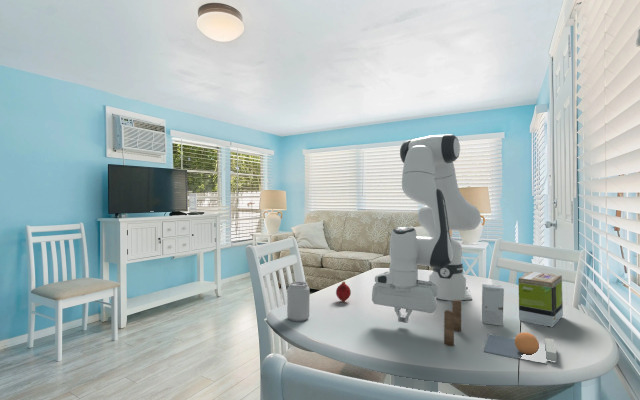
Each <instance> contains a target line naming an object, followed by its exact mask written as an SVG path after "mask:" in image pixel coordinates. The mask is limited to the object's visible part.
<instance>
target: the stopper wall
mask: <svg viewBox="0 0 640 400" xmlns="http://www.w3.org/2000/svg"><path fill="white" fill-rule="evenodd" d="M544 344H545V351H546V359H547V360H551V361H556V362H557V350H556V345H555V341H554V339H553V338H547V337H546V338H544Z"/></svg>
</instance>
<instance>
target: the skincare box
mask: <svg viewBox="0 0 640 400" xmlns="http://www.w3.org/2000/svg"><path fill="white" fill-rule="evenodd" d="M481 286H482V287H481V288H482V289H481V292H482V293H481V321H482V324H484V325H491V326H492V325H493V326H494V325H495V326H501V327H502V326H503V325H504V295H505V293H504V292H505V288H504V287H503V286H502V285H498V284H497V285H495V284H484V283H482V285H481Z"/></svg>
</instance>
